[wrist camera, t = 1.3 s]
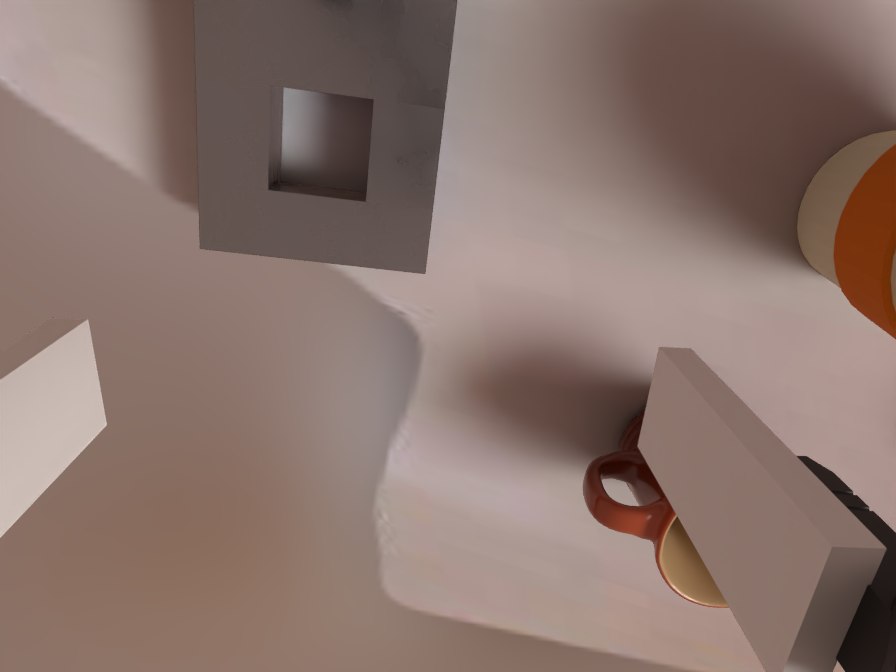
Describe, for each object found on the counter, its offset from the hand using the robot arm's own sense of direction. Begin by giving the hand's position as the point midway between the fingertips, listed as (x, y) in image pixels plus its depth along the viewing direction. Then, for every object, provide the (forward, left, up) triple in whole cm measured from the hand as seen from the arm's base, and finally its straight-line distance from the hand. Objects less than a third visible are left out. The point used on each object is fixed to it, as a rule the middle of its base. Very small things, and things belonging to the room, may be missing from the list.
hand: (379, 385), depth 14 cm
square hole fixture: (-5, -5, -22) cm, 23 cm away
